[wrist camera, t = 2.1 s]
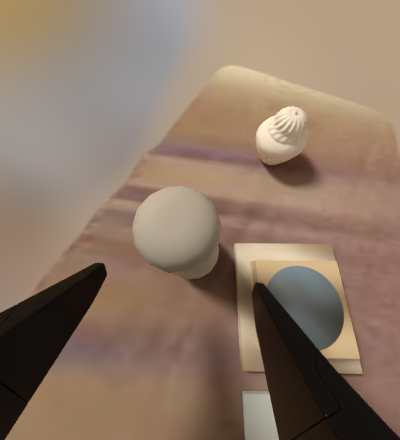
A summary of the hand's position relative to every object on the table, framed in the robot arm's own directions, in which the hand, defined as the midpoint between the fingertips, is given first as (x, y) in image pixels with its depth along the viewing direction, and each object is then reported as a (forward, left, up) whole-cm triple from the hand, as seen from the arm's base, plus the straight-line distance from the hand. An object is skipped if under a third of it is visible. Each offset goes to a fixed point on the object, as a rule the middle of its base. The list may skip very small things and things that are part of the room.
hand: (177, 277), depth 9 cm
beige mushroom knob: (+2, 0, -10) cm, 10 cm away
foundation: (-3, -11, -10) cm, 15 cm away
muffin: (+16, -11, -10) cm, 22 cm away
